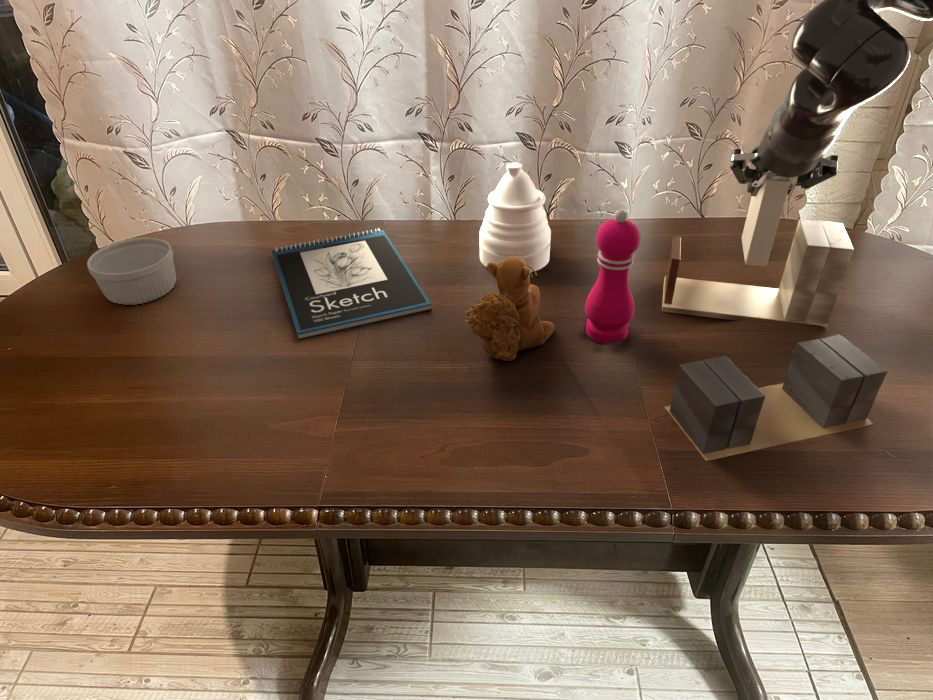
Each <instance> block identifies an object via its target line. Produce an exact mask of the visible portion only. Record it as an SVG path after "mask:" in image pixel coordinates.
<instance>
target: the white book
mask: <svg viewBox="0 0 933 700" xmlns="http://www.w3.org/2000/svg"><path fill="white" fill-rule="evenodd" d="M789 185H790V181H787V177H781V176H775V177H774V176H773V177H772V178H771V179H770V180H766V182H765V183H762V184H761V188H760V189H759V191H758V193H757V195H756V196H751V198H750V202H749V205H748V206H749V207H748V209H747V214H746V218H745V222H744V226H743V231H742V235H741V244H742V251H743V259H744V265H745V266H756V267H765V268H766V267H768V264H769V259H770V256H771V253H772V249H773V246H774V243H775V239H776V235H777V233H778V228H779V224H780V220H781V216H782V213H783V210H784V206H785V203H786V198H787V196H788V195H787V192H788V188H789Z"/></svg>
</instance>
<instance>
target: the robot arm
mask: <svg viewBox="0 0 933 700" xmlns="http://www.w3.org/2000/svg"><path fill="white" fill-rule="evenodd" d="M885 10H890V11H895V12H899V13H901V14H903V15H906V16H908V17H910V18H913V19H916V20H920V21H932V20H933V0H821V2H819V3H818V4H816V5H814V7H812V9H811V10H808V12H807V13H806V14H805V15H804V16H803V18H802V19H800V21H799V23H798V25H797V26H796V28H795V30H794V32H793V35H792V37H791V42H790V52H791V54H792V56H793V58H794V59H795V60H796V61H797V62H798V63H799V65H801V67H802V68H803V69H802V70H800V72H799V73H798V74H797V75H796V76H795V78H794V79H793V80H792V81H791V84H790V85H789V88H788V90H787V92H786V94H785V95H784V97H783V100H782V102H781V103H780V105H779V106H777V108H776V110H775V112H774V113H773V115H772V117H771V119H770V122H769V124H768V126H767V128H766V130H765V132H764V134H763V136H762V139H761V141H760V143H759V145H758V146H756V147H754V148H753V149H752V151H751V152H743V149H740V148H734V149H732V151H731V157H730V165H729V168H730V170H731V172H732V173H733V175H734V177H735V179H736V180H737V181H738V184H740V185H747V189H746V191H747V193H749V194H750V196H751V197H752V196H756V195H757V193H758V191H759V189H760V188H761V184H762V183H765V182H766V180H770V179H771V178H772V177H773V176H774V177H775V176H781V177H787V181H790V185H789V188H788V192H787V196H789V195H790V194H791V192H792V191H793V190H796V187H800V189H803V190H808V189H811V188H812V187H815V186H817V185H819V184H821V183H824V182H825V181H827V180H829V179H832V178H833V177H836V176H837V174H838V167H839V166H838V165H839V155H837V154H831V155H828V156H826V157H824V156H825V154H826V153H827V152H828V151H829V150H830V147H831V146H832V145H833V144H834V143H835V142H836V140H837V137H838V135H839V134H840V132H841V128H842V127H843V125H844V124H845V122H846V120H847V119H848V118H849V117H850V115H851V113H853V111H854V110H855V109H857V108H858V107H859V106H861V105H863V104H865V103H866V102H868V101H871V100H872V99H874V98H875V97H876V96H877V97H878V95H880V94H882V93H883V92H884V91H886V90H887V89H888V88H890V87H891V86H892V85H893V84H894V83H895V82H896V81H897V80H898V79H899V78H900V77H901V76H902V75H903V74H904V72H905V70H906V68H907V67H908V64H909V62H910V58H911V45H910V43H909V40H908V39H907V37H906V36H905V35H904V34H903V33H902V32H901V31H900V30H899V29H897V28H896V27H895V26H893V25H892V24H891V23H890V22H889V21H888V20H886V19H885V18H884V17H882V16H881V15H880V13H878V12H881V11H885ZM750 164H751V165H753V166H754V167H753V168H751V165H750Z"/></svg>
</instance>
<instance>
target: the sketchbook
mask: <svg viewBox="0 0 933 700" xmlns="http://www.w3.org/2000/svg"><path fill="white" fill-rule="evenodd" d="M303 243H304V244H302V242H299V245H297V243H295V244H294V246H293V244H289V245H290V246H289V247H288V245H287V244H286V245H285V247H283V245H281V246H280V248H279V247H278V246H274V249H273V250H272V249H271V255H272V258H273V261H274V265H275V268H276V272H277V274H278V278H279V281H280V284H281V286H282V290H283V293H284V296H285V300H286V303H287V306H288V309H289V313H290V316H291V319H292V322H293V325H294V329H295V331H296V335H297V338H298V340H302V339H306V338H313V337H316V336H320V335H324V334H330V333H333V332H339V331H343V330H346V329H352V328H357V327H361V326H366V325H369V324H374V323H378V322H379V323H380V322H383V321H386V320H387V321H388V320H391V319H396V318H400V317H404V316H405V317H406V316H410V315H413V314H419V313H423V312H428V311H432V309H433V308H432V303H431V301H430V299H429V298H428V297H427V295H426V293H425V292H424V290H423V289H422V287H421V286H420V284H419V282H418V281H417V280H416V278H415V276H414V275H413V273H412V272H411V270H410V269H409V267H408V265H407V264H406V262H405V261H404V260H403V258H402V257H401V255H400V253H399V252H398V250H397V249H396V247H395V246H394V244H393V243H392V241H391V239H390V238H389V236H388V235H387V233H386V231H385V230H384V229H380V227H378V228H377V229H376V228H374V231H373V230H372V229H370V232H369V231H368V230H366V232H364V231H362V230H361V233H360V232H359V231H357V234H355V232H353V235H351V233H348V236H347V235H346V234H344V236H343V237H342V234H341V235H339V237H338V235H335V238H334V237H333V236H331V237H330V239H329V237H326V240H325V239H324V238H322V240H320V238H319V239H317V242H316V241H315V239H314V240H312V242H311V240H308V243H306V241H303Z"/></svg>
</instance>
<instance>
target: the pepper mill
mask: <svg viewBox="0 0 933 700" xmlns="http://www.w3.org/2000/svg"><path fill="white" fill-rule="evenodd" d="M628 217H629V216H628V212H627V211H625V210H624V209H618V210H617V211H616V212H614V215H613V218H611V219H608V220H606V221H604V222H602V224H601V225H600V226H599V228H598V229H597V232H596V236H595V244H596V247H597V248H598V250H599V251H597V256H598V257H597V263H598V265H599V272H598V276H597V279H596V281H595V283H594V285H593V287H592V288H591V290H590V292H588V295H587V298H586V300H585V305H584V313H585V315H586V317H587V320H586V325H585V334H586V336H587V337H588V338H589V339H590V340H592V341H593V342H595V343H598V344H602V345H609V344H614V343H619V342H624V341H625V340H626V339H627V337H628V334H629V329H630V328H629V327H630V325H629V323H630V322H631V320H632V319H633V318H634V315H635V300H634V296H633V294H632V291H631V288H630V285H629V273H630V268H632V267H633V265H634V259H635V254H634V253H635V252H636V251H637V250H638V249H639V247H640V243H641V232H640V229H639V227H638V226H637V225H636V224H635V223H634V222H633V221H631V220H629V219H628Z"/></svg>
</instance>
